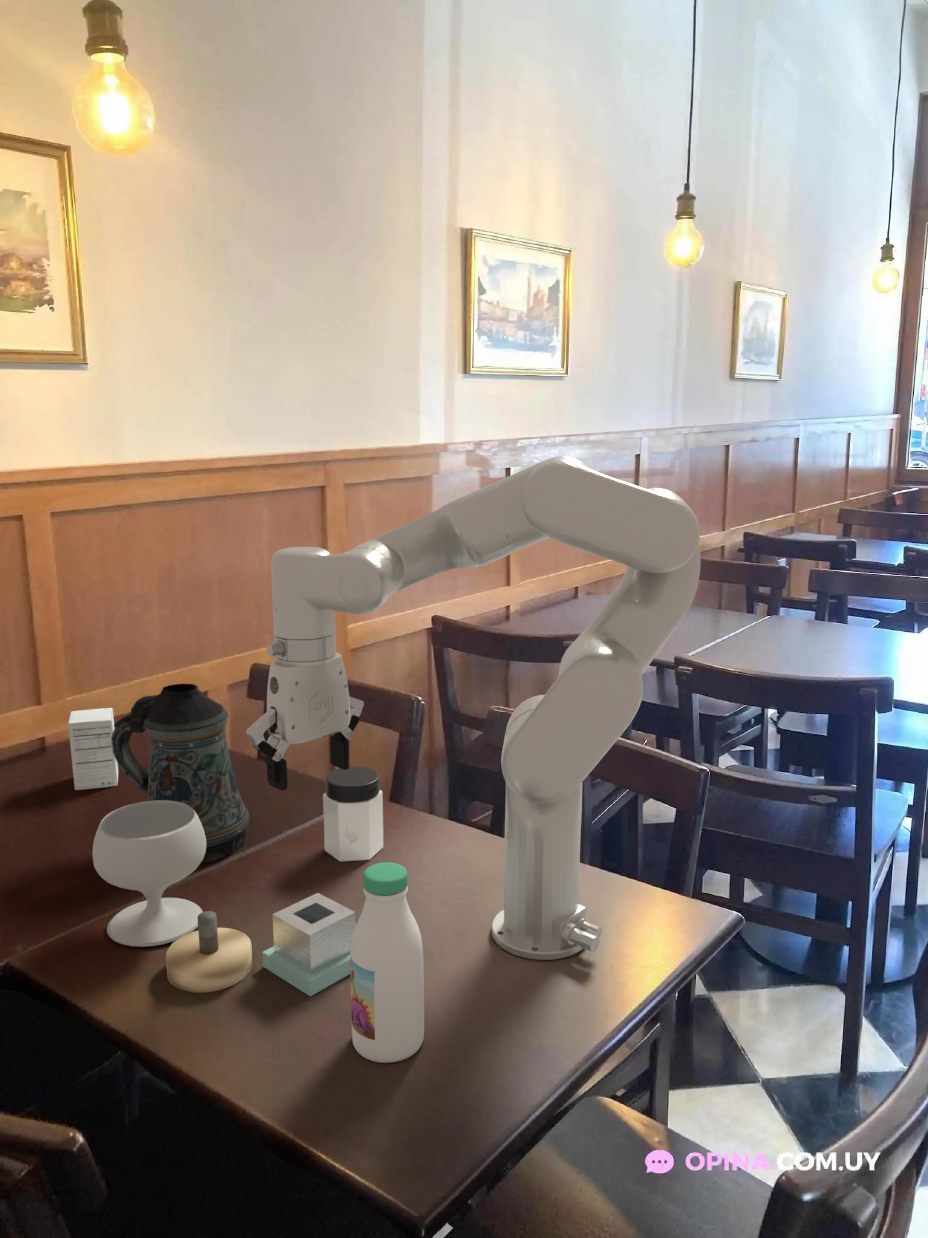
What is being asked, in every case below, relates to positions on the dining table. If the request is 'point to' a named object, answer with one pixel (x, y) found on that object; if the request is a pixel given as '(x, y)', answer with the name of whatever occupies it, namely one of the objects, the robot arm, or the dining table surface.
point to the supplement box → (92, 748)
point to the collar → (313, 932)
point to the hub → (209, 957)
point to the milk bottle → (386, 970)
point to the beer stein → (187, 762)
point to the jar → (353, 814)
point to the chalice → (150, 868)
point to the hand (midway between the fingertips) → (309, 776)
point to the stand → (303, 978)
